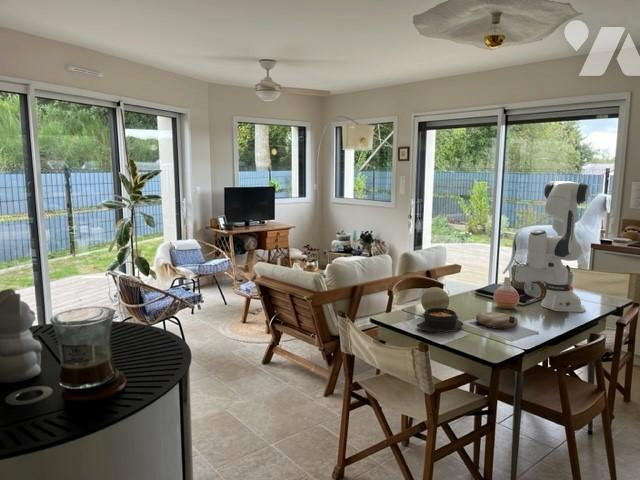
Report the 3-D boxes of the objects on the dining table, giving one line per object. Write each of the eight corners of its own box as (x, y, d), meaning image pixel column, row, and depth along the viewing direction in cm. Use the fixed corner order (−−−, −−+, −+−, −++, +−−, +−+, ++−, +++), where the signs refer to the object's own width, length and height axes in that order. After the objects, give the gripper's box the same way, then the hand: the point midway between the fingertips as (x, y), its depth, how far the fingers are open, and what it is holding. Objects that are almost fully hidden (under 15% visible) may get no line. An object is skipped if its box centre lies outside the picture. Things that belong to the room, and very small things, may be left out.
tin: (545, 301, 234) (548, 284, 233) (540, 301, 234) (542, 284, 233) (526, 293, 249) (529, 277, 248) (521, 293, 248) (523, 277, 247)
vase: (514, 304, 280) (516, 275, 277) (521, 311, 267) (523, 280, 264) (490, 304, 282) (491, 274, 279) (496, 311, 268) (498, 280, 265)
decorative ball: (437, 320, 253) (438, 292, 251) (415, 313, 265) (415, 287, 262) (454, 314, 263) (455, 287, 260) (432, 308, 274) (432, 282, 272)
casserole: (445, 319, 255) (446, 303, 254) (472, 329, 239) (472, 313, 238) (408, 326, 244) (409, 311, 242) (433, 338, 227) (434, 321, 226)
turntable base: (511, 321, 251) (511, 318, 251) (510, 329, 238) (510, 326, 238) (482, 318, 256) (483, 315, 256) (481, 326, 243) (481, 323, 243)
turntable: (525, 321, 245) (525, 313, 244) (502, 330, 233) (503, 321, 232) (491, 312, 261) (491, 304, 260) (468, 319, 249) (468, 311, 248)
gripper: (519, 265, 235) (517, 292, 237) (559, 263, 236) (557, 290, 239) (513, 262, 241) (511, 289, 243) (551, 261, 243) (550, 287, 245)
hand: (534, 289), depth 241 cm, fingers closed on tin, 3 cm apart
